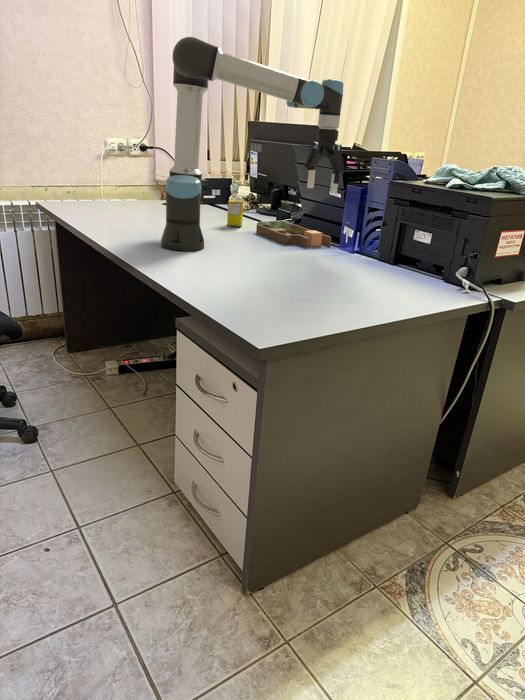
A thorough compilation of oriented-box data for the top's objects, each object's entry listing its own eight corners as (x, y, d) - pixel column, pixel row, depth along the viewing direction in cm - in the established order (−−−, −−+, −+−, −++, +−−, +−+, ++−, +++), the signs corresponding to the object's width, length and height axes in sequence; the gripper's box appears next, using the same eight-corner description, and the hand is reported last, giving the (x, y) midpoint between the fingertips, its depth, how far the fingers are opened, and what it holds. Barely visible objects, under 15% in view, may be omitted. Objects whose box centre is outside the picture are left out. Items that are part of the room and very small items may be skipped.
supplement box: (242, 225, 223) (243, 200, 219) (240, 228, 218) (241, 202, 213) (229, 224, 224) (230, 199, 219) (226, 226, 218) (228, 200, 214)
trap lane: (294, 248, 189) (295, 238, 188) (248, 229, 215) (248, 221, 214) (330, 245, 198) (331, 236, 196) (281, 228, 224) (282, 220, 222)
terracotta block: (310, 246, 195) (312, 233, 193) (303, 243, 198) (304, 230, 196) (320, 245, 197) (322, 232, 195) (313, 242, 201) (314, 230, 199)
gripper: (360, 130, 172) (351, 195, 180) (314, 127, 190) (308, 186, 199) (343, 129, 168) (335, 195, 176) (298, 126, 186) (293, 186, 195)
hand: (321, 190), depth 188 cm, fingers open, 13 cm apart
